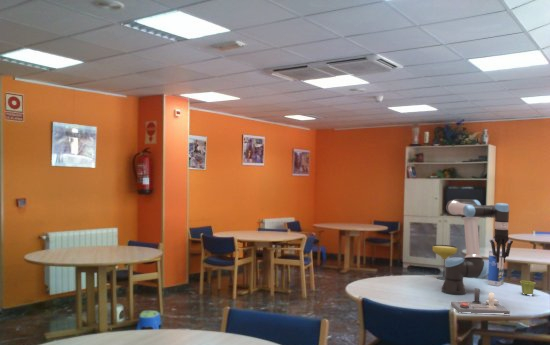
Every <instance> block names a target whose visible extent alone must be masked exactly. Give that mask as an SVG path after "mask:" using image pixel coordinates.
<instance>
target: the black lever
mask: <svg viewBox="0 0 550 345" xmlns="http://www.w3.org/2000/svg"><path fill="white" fill-rule="evenodd" d="M480 291H481V289H480V288H474V295H473V296H474V298H473V299H474V300H472V301H471V302H472V303H473V304H481V303H482V301H480V296H481V295H480Z"/></svg>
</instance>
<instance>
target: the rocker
mask: <svg viewBox="0 0 550 345" xmlns="http://www.w3.org/2000/svg"><path fill="white" fill-rule="evenodd" d="M485 303H487V304H489V299H486V300H485ZM494 304H499V300H498V299H496V298H494Z"/></svg>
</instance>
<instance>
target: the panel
mask: <svg viewBox="0 0 550 345" xmlns="http://www.w3.org/2000/svg"><path fill="white" fill-rule="evenodd" d="M472 302H473V301H464V300H463V301H460V300H458V301H451V302H450V306H451V307H452V309H454V308H455V309H456V310H457V311H456V310H455V309H454V310H455V311H456V312H457V313H459V312H471V313H504V314H510V312H511V311H510V310H509V309H507V308H505V307H504V306H502V304H499V303H494V306H495V307H496V309H490V308H487V305H489V304H487V303H486V302H481V304H473V303H472Z"/></svg>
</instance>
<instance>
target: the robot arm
mask: <svg viewBox="0 0 550 345" xmlns="http://www.w3.org/2000/svg"><path fill="white" fill-rule="evenodd" d="M445 208H446V211H447V213H449V215H452V216H458V217H459V216H460V217H461V220H462V221H463V225H464V226H463V227H464V236H465V238H464V240H465V250H466V255H465V256H464V258H463V257H458V256H457V257H455V256H454V257H447V258H446V259H445V280H443V284H442V287H441V292H442V293H444V294H448V295H454V296H455V295H456V296H459V295H460V296H461V295H466V287H465V285H464V278H476V279H479V278H481V279H482V278H484V277H485V276H486V274H487V272H488V265H487V261H485V260H484V258H483V256H482V255H481V250H480V238H479V236H480V235H479V227H478V220H479V219H480V218H493V219H494V228H495V229H494V236H493V238H492V239H489V242H490V245H491V249H492V252H493V255H494V256H496V262H497V263H498V266H497V268H500V269H501V268H502V269H503V265H504V264H505V263H506V258H508V257H509V255H510V251H511V248H512V244H513V240H511V239H510V238H509V230H508V229H509V222H510V220H509V217H510V205H509V204H508V203H504V202H497V203H495V204H494V205H493V204H490V205H487V204H486V205H485V204H484V205H483V204H481V202H480V201H479V200H478V199H469V198H468V199H466V198H465V199H462V198H455V199H451V200H449V201H448V202H447V204H446V206H445ZM495 243H496V244H495ZM500 249H502V257H501V258H500Z"/></svg>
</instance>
